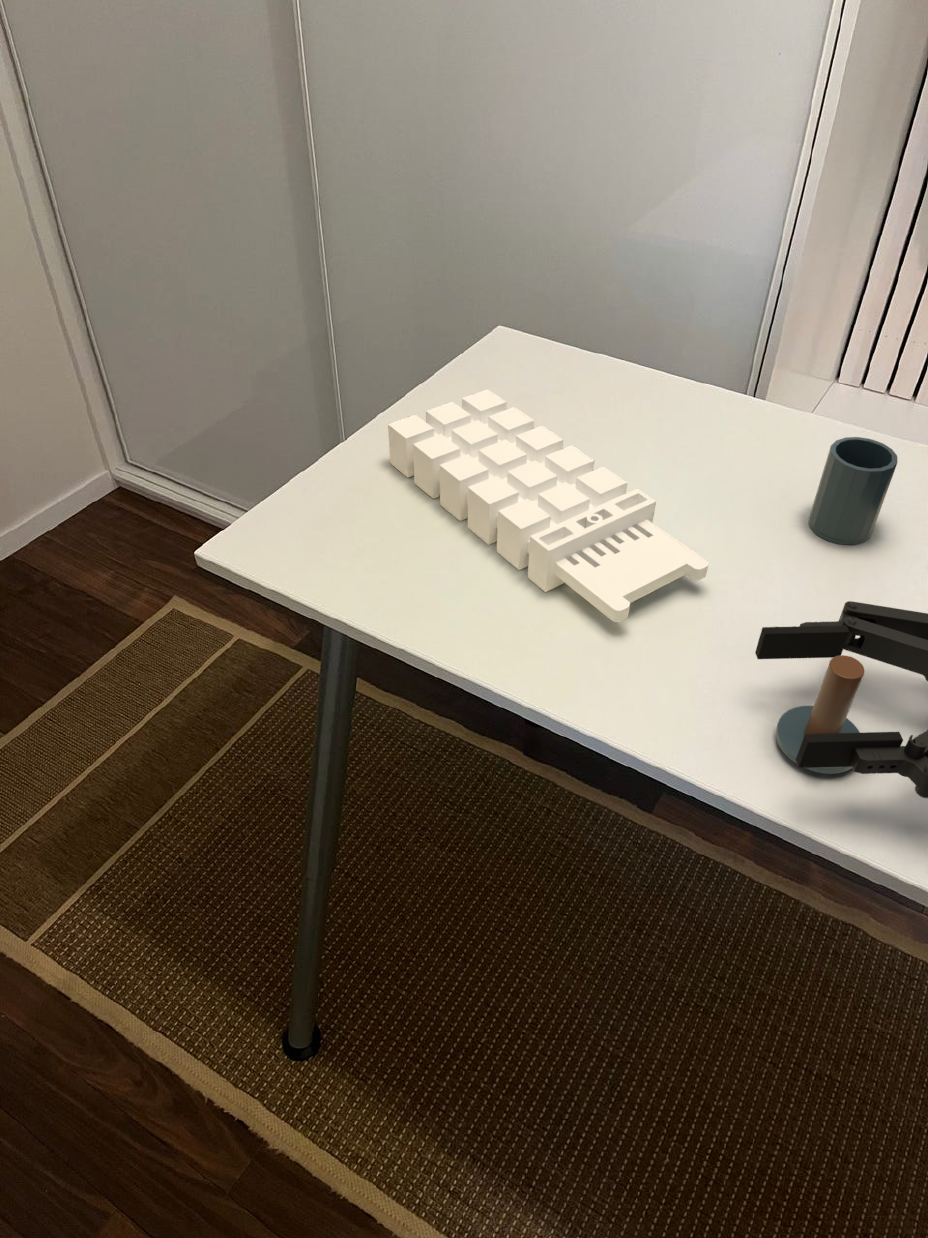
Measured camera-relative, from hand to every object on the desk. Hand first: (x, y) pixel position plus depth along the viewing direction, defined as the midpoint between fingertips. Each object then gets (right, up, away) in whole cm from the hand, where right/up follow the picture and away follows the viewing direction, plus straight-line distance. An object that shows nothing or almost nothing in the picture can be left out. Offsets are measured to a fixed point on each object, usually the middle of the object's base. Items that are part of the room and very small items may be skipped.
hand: (779, 694), depth 69 cm
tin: (+15, +15, +25) cm, 33 cm away
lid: (+4, -4, +4) cm, 7 cm away
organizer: (-16, +15, +26) cm, 34 cm away
